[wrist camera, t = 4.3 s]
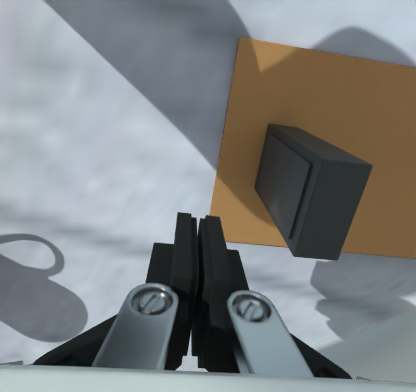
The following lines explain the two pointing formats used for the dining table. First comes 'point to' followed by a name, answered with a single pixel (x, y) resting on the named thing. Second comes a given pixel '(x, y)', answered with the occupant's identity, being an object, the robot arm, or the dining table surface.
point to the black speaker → (309, 190)
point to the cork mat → (326, 130)
